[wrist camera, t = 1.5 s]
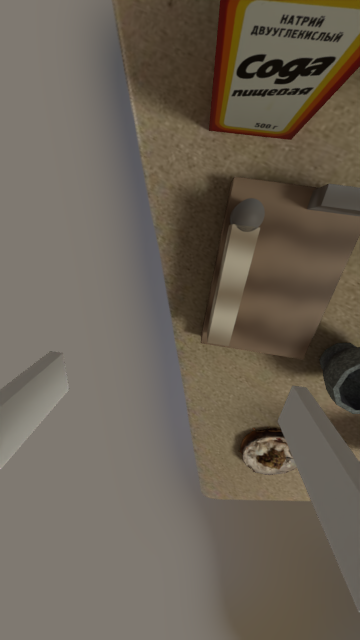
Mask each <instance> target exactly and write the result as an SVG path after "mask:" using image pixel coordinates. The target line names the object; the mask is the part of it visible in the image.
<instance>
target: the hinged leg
mask: <svg viewBox="0 0 360 640" xmlns="http://www.w3.org/2000/svg"><path fill="white" fill-rule="evenodd" d="M264 215H265V210H264V207H263V205H262V203H261V202H260V201H259V200H257V199H254V198H249V199H245V200H243V201H242V202H241V203H239V204H238V205H237V206H236V207H235V208H234V209H233V210H232V212H231V215H230V224H231V225H229V228H228V233H227V238H226V243H225V247H224V252H223V257H222V262H221V267H220V271H219V276H218V281H217V286H216V291H215V295H214V300H213V305H212V310H211V315H210V319H209V324H208V329H207V343H213V344H219V345H225V346H229V343H230V340H231V336H232V332H233V328H234V325H235V321H236V317H237V313H238V310H239V306H240V302H241V298H242V295H243V291H244V287H245V283H246V280H247V276H248V272H249V268H250V265H251V261H252V257H253V253H254V250H255V246H256V242H257V238H258V235H259V231H260V228H258V227H259V226H260V225H261V223H262V222H263V219H264Z"/></svg>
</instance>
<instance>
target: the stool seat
mask: <svg viewBox="0 0 360 640" xmlns="http://www.w3.org/2000/svg"><path fill="white" fill-rule="evenodd" d="M249 198H254V199H257V200H259V201H260V202H261V203H262V205H263V207H264V210H265V215H264V219H263V222H262V223H261V225H260V226H259V227H258V228H260V231H259V235H258V238H257V242H256V246H255V250H254V253H253V257H252V261H251V265H250V268H249V272H248V276H247V280H246V283H245V287H244V291H243V295H242V298H241V302H240V306H239V310H238V313H237V317H236V321H235V325H234V328H233V332H232V336H231V340H230V343H229V346H225V345H219V344H213V343H207V329H208V324H209V319H210V315H211V310H212V305H213V300H214V295H215V291H216V286H217V281H218V276H219V271H220V267H221V262H222V257H223V252H224V247H225V243H226V238H227V233H228V228H229V225H231V224H230V215H231V212H232V210H233V209H234V208H235V207H236V206H237V205H238V204H239V203H241V202H242V201H243V200H245V199H249ZM359 236H360V188H357V187H350V186H342V185H335V184H327V185H325V186H323V187H320V188H316V187H309V186H301V185H294V184H286V183H279V182H271V181H263V180H256V179H248V178H241V177H234V178H233V180H232V182H231V186H230V191H229V196H228V201H227V207H226V212H225V217H224V222H223V227H222V232H221V237H220V242H219V247H218V252H217V257H216V262H215V268H214V273H213V278H212V283H211V288H210V293H209V298H208V303H207V308H206V313H205V318H204V323H203V329H202V334H201V343H204V344H210V345H216V346H222V347H228V348H235V349H241V350H247V351H253V352H259V353H266V354H272V355H278V356H284V357H290V358H297V359H304V356H305V354H306V352H307V350H308V348H309V345H310V343H311V341H312V339H313V337H314V335H315V332H316V330H317V328H318V326H319V324H320V321H321V319H322V317H323V315H324V313H325V310H326V308H327V306H328V304H329V302H330V299H331V297H332V295H333V293H334V291H335V288H336V286H337V284H338V282H339V280H340V277H341V275H342V273H343V271H344V269H345V266H346V264H347V262H348V260H349V258H350V255H351V253H352V251H353V249H354V247H355V245H356V242H357V240H358V238H359Z"/></svg>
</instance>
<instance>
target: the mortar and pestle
mask: <svg viewBox="0 0 360 640" xmlns="http://www.w3.org/2000/svg"><path fill="white" fill-rule="evenodd" d="M319 360H320V364H321V368H322V369H323V377H324V381H325V385H326V390H327V391H328V393H329V395H330V397H331V398H332V400H333V401H334V402H335V403H336V405H338V406H340V407H342V408H343V409H345V410H347V411H349V412H351V413H352V414H360V347H356V346H354V345H353V344H351V343H337V344H335V345H333V346H331V347H330V348H328V349H326V350H325V351H324V353H323V354H322V356H321V358H320V359H319Z"/></svg>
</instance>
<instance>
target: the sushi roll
mask: <svg viewBox="0 0 360 640" xmlns="http://www.w3.org/2000/svg"><path fill="white" fill-rule="evenodd" d="M268 428H269V427H268ZM253 430H255V428H253ZM250 431H251V430H250ZM240 452H241V453H242V454H243V456H242V457H243V460H244V463H245V464H246V466H247V467H249V468H250V469H251V468H252V470H253V471H254V472H256V473H262V474H265V475H267V474H268V475H273V474H280V473H286V472H289V471H291V470H294V469H296V468H297V466H296V463H295V461H294V459H293V456H292V454H291V452H290V449H289V447H288V444H287V442H286V440H285V437H284V435H283V433H282V430H278V429H276V428H274V429H272V428H270V429H267V430H260V431H252V432H251V433H250V434H248V435H246V436H245V437H244V439H243V441H242V445H241V451H240Z"/></svg>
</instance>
